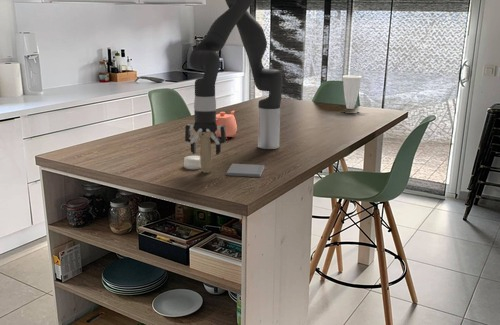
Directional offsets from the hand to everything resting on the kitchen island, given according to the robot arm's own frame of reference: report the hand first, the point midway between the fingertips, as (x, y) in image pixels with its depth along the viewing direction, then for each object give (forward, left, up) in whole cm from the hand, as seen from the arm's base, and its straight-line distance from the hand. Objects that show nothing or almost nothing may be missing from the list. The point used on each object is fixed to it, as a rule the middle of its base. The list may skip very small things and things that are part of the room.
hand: (205, 153), depth 183 cm
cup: (-141, +57, -7) cm, 152 cm away
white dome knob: (-6, -6, -7) cm, 11 cm away
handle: (0, 0, -7) cm, 7 cm away
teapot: (-58, -5, -7) cm, 59 cm away
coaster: (-3, +14, -7) cm, 16 cm away
